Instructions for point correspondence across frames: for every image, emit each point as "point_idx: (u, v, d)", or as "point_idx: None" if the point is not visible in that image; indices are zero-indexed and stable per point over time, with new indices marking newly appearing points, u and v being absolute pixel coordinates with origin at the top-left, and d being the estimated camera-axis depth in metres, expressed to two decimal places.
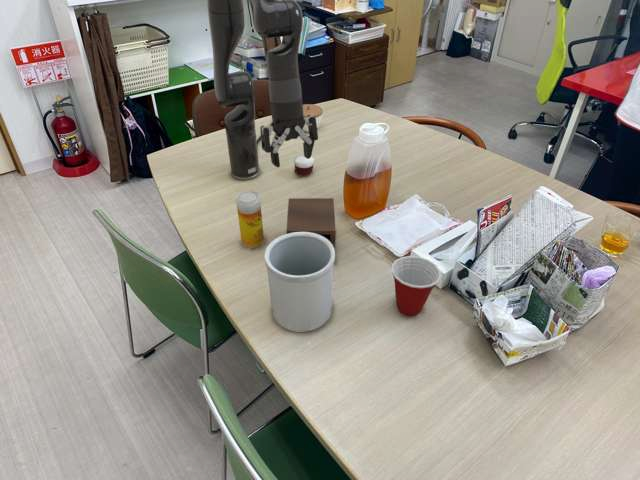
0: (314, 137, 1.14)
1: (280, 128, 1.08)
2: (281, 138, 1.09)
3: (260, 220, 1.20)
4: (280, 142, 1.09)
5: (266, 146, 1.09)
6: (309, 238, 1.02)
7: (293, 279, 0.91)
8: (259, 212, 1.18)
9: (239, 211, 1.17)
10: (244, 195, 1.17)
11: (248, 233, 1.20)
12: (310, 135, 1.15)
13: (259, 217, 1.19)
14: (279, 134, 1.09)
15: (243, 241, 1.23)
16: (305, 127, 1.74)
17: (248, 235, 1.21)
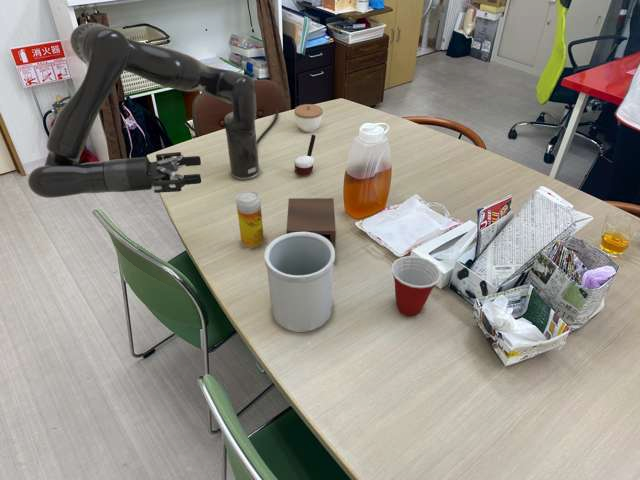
0: None
1: None
2: None
3: (260, 220, 1.20)
4: None
5: None
6: (309, 238, 1.02)
7: (293, 279, 0.91)
8: (259, 212, 1.18)
9: (239, 211, 1.17)
10: (244, 195, 1.17)
11: (248, 233, 1.20)
12: None
13: (259, 217, 1.19)
14: None
15: (243, 241, 1.23)
16: (305, 127, 1.74)
17: (248, 235, 1.21)
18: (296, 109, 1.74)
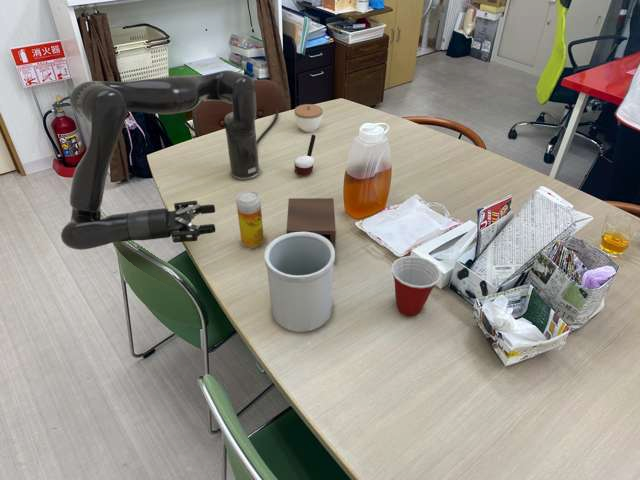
0: None
1: None
2: None
3: (260, 220, 1.20)
4: None
5: None
6: (309, 238, 1.02)
7: (293, 279, 0.91)
8: (259, 212, 1.18)
9: (239, 211, 1.17)
10: (244, 195, 1.17)
11: (248, 233, 1.20)
12: None
13: (259, 217, 1.19)
14: None
15: (243, 241, 1.23)
16: (305, 127, 1.74)
17: (248, 235, 1.21)
18: (296, 109, 1.74)
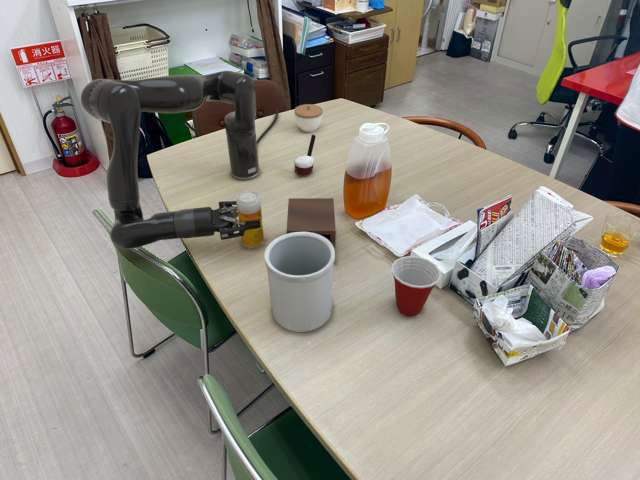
0: None
1: None
2: None
3: (260, 220, 1.20)
4: None
5: None
6: (309, 238, 1.02)
7: (293, 279, 0.91)
8: (259, 212, 1.18)
9: (239, 211, 1.17)
10: (244, 195, 1.17)
11: (248, 233, 1.20)
12: None
13: (259, 217, 1.19)
14: None
15: (243, 241, 1.23)
16: (305, 127, 1.74)
17: (248, 235, 1.21)
18: (296, 109, 1.74)
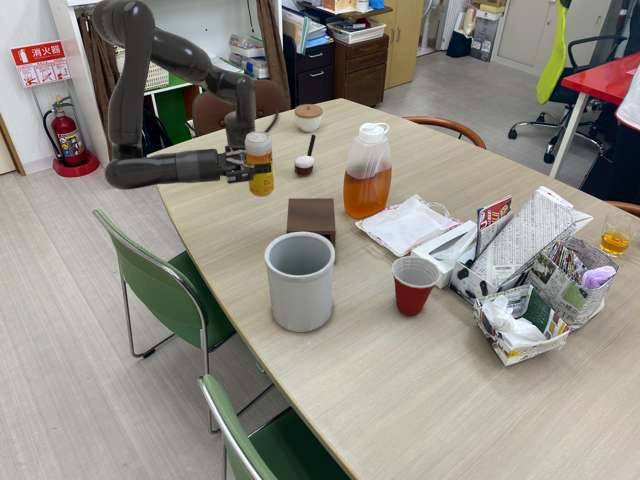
0: None
1: None
2: None
3: (271, 165, 1.09)
4: None
5: None
6: (309, 238, 1.02)
7: (293, 279, 0.91)
8: (270, 155, 1.07)
9: (248, 153, 1.06)
10: (254, 135, 1.06)
11: (257, 179, 1.09)
12: None
13: (270, 161, 1.08)
14: None
15: (252, 189, 1.12)
16: (305, 127, 1.74)
17: (257, 181, 1.10)
18: (296, 109, 1.74)
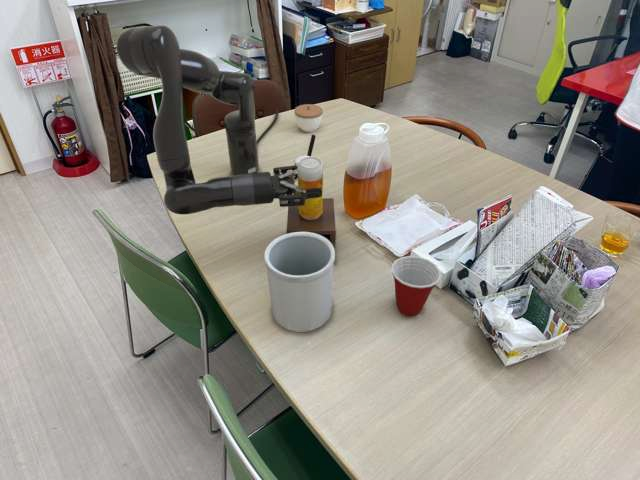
0: None
1: None
2: None
3: None
4: None
5: None
6: (309, 238, 1.02)
7: (293, 279, 0.91)
8: (321, 180, 1.10)
9: (301, 178, 1.08)
10: (306, 161, 1.09)
11: (308, 203, 1.12)
12: None
13: (321, 185, 1.11)
14: None
15: (302, 212, 1.14)
16: (305, 127, 1.74)
17: (308, 205, 1.12)
18: (296, 109, 1.74)
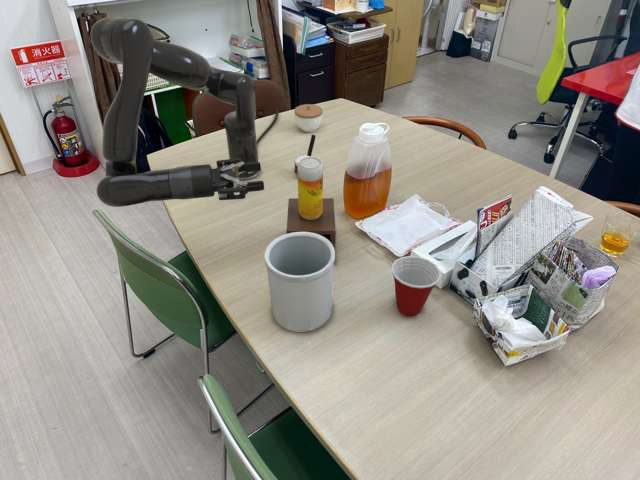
0: None
1: None
2: None
3: (321, 189, 1.12)
4: None
5: None
6: (309, 238, 1.02)
7: (293, 279, 0.91)
8: (321, 180, 1.10)
9: (301, 178, 1.08)
10: (306, 161, 1.09)
11: (308, 203, 1.12)
12: None
13: (321, 185, 1.11)
14: None
15: (302, 212, 1.14)
16: (305, 127, 1.74)
17: (308, 205, 1.12)
18: (296, 109, 1.74)
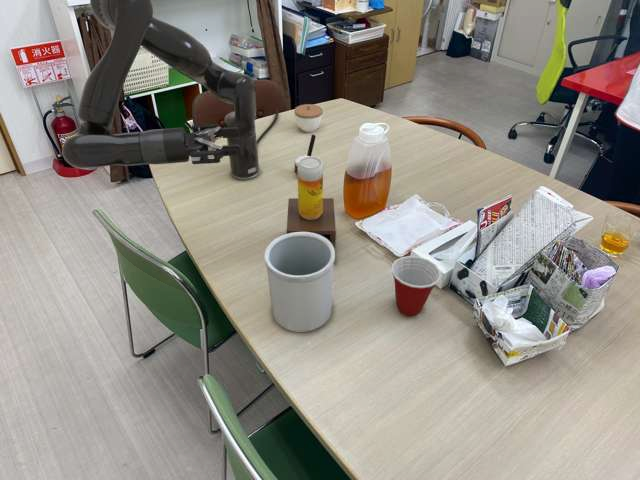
0: None
1: None
2: None
3: (321, 189, 1.12)
4: None
5: None
6: (309, 238, 1.02)
7: (293, 279, 0.91)
8: (321, 180, 1.10)
9: (301, 178, 1.08)
10: (306, 161, 1.09)
11: (308, 203, 1.12)
12: None
13: (321, 185, 1.11)
14: None
15: (302, 212, 1.14)
16: (305, 127, 1.74)
17: (308, 205, 1.12)
18: (296, 109, 1.74)
